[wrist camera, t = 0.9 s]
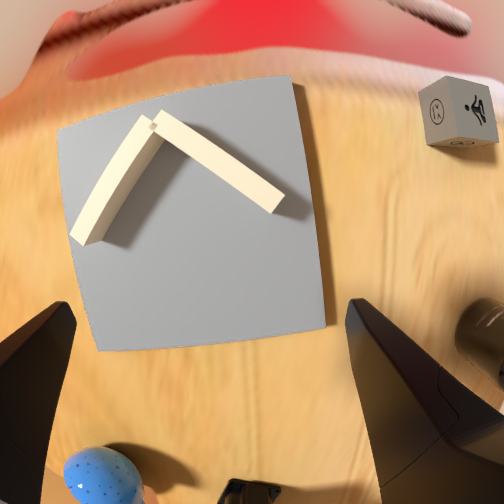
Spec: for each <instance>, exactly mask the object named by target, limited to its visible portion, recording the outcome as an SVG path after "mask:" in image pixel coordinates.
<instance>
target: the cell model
mask: <svg viewBox="0 0 504 504" xmlns="http://www.w3.org/2000/svg"><path fill="white" fill-rule="evenodd" d="M64 478H65V482H66V485H67V487H68V488H72V489H71V491H70V492H71V493H72V494H73V495H74V497H75V498H76V499H77V500H78V501H79V502H80V503H82V504H145V502H144V487H143V483H142V479H141V476H140V473H139V471H138V469H137V468H136V466H135V465H134V464H133V463H132V462H131V461H130V460H129V459H128V458H127V457H126V456H124V455H123V454H122V453H120V452H118V451H116V450H114V449H110V448H107V447H102V446H93V447H88V448H85V449H82V450H80V451H77V452H75V453H74V454H72V455H71V456H70V457H69V458H68V459H67V460H66V462H65V465H64Z"/></svg>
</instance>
